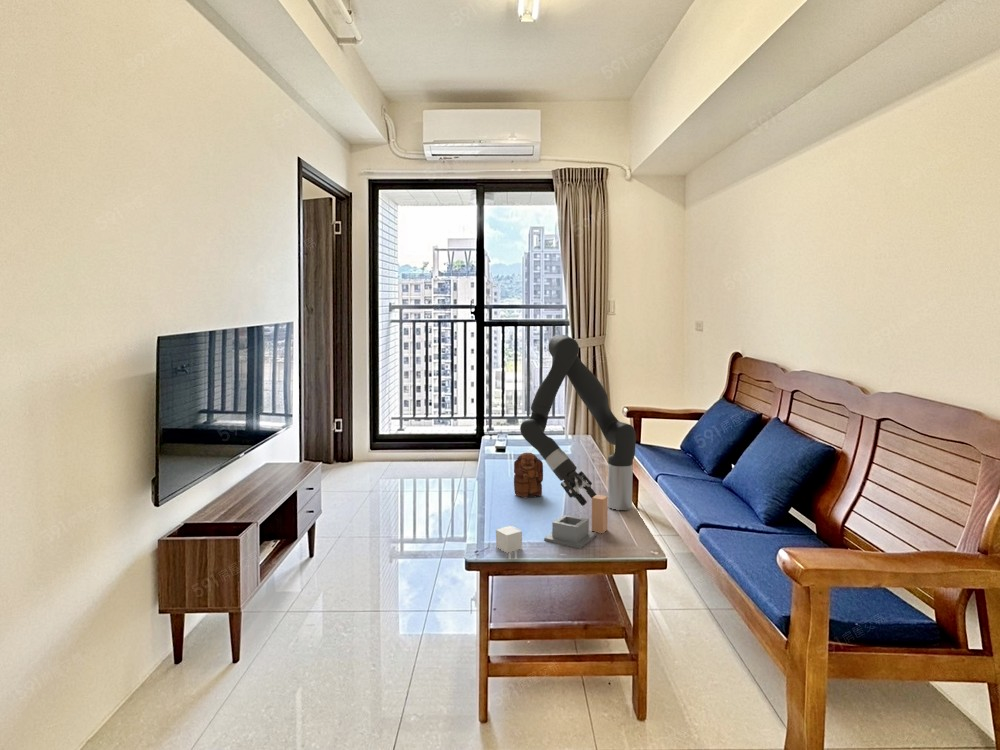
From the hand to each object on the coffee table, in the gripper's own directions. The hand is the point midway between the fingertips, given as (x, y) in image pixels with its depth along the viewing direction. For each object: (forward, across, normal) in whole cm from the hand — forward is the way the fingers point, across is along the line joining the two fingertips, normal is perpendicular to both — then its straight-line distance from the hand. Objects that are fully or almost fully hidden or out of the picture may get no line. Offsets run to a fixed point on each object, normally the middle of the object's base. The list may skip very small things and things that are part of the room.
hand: (590, 501), depth 198 cm
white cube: (-3, -29, +18) cm, 34 cm away
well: (+6, -11, +8) cm, 15 cm away
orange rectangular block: (+10, 0, +4) cm, 11 cm away
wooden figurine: (-19, +22, +34) cm, 44 cm away
